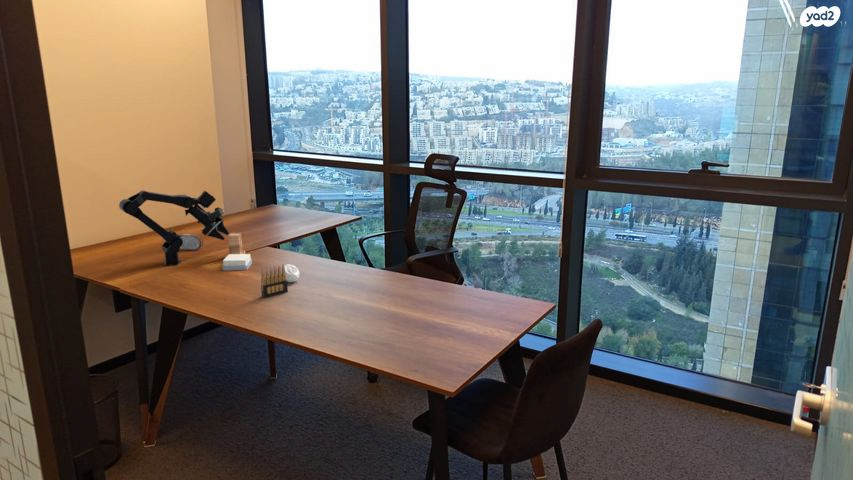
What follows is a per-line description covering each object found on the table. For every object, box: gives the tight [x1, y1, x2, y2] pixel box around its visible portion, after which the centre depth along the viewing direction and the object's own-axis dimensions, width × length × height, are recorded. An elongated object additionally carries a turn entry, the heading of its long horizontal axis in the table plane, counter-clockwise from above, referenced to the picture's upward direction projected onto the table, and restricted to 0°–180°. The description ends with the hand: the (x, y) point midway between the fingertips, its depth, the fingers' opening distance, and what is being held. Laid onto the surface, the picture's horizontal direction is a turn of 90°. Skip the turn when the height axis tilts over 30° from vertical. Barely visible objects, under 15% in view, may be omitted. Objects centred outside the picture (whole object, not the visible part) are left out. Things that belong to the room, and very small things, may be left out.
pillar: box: [226, 232, 246, 257], centre depth 284 cm, size 7×7×12 cm
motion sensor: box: [281, 264, 301, 283], centre depth 250 cm, size 8×8×8 cm
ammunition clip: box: [260, 264, 289, 299], centre depth 235 cm, size 11×2×12 cm, turn 130°
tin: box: [177, 232, 204, 251], centre depth 298 cm, size 15×3×8 cm, turn 84°
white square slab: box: [222, 253, 252, 266], centre depth 271 cm, size 10×10×2 cm
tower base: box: [221, 258, 253, 271], centre depth 272 cm, size 11×11×2 cm
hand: (226, 236), depth 283 cm, fingers open, 9 cm apart
